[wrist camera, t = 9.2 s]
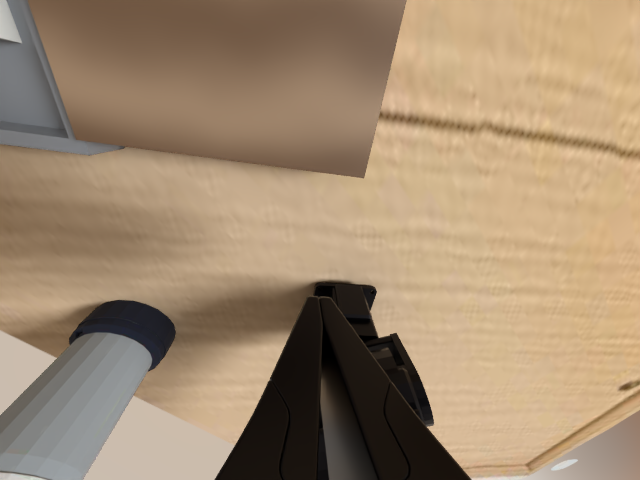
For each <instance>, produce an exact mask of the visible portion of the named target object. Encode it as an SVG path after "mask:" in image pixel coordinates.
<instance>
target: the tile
mask: <svg viewBox="0 0 640 480" xmlns="http://www.w3.org/2000/svg"><path fill="white" fill-rule="evenodd" d="M0 39H2V40H7V41H12V42H18V43H22V41H21V38H20V36H19V33H18V30H17V28H16V25H15V22H14V19H13V17H12V14H11V11H10V9H9V6H8V3H7V1H6V0H0Z"/></svg>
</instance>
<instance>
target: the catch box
mask: <svg viewBox="0 0 640 480" xmlns="http://www.w3.org/2000/svg"><path fill="white" fill-rule="evenodd" d="M6 1H7V3H8V6H9V9H10V11H11V14H12V17H13V19H14V22H15V25H16V28H17V30H18V33H19V36H20V38H21V41H22V43H18V42H12V41H7V40H2V39H0V144H4V145H12V146H20V147H28V148H36V149H44V150H52V151H60V152H68V153H76V154H84V155H93V154H98V153H103V152H108V151H113V150H118V149H123V148H124V146H118V145H111V144H103V143H96V142H88V141H81V140H76V138H75V135H74V132H73V129H72V126H71V124H70V121H69V118H68V115H67V112H66V109H65V106H64V104H63V101H62V98H61V95H60V92H59V89H58V86H57V83H56V81H55V78H54V75H53V72H52V69H51V66H50V63H49V61H48V58H47V55H46V52H45V49H44V46H43V43H42V40H41V38H40V35H39V32H38V29H37V26H36V23H35V20H34V17H33V15H32V12H31V9H30V6H29V3H28V0H6Z"/></svg>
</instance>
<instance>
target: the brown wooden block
mask: <svg viewBox="0 0 640 480" xmlns="http://www.w3.org/2000/svg"><path fill="white" fill-rule="evenodd" d="M28 3H29V6H30V9H31V12H32V15H33V17H34V20H35V23H36V26H37V29H38V32H39V35H40V38H41V40H42V43H43V46H44V49H45V52H46V55H47V58H48V61H49V63H50V66H51V69H52V72H53V75H54V78H55V81H56V83H57V86H58V89H59V92H60V95H61V98H62V101H63V104H64V106H65V109H66V112H67V115H68V118H69V121H70V124H71V126H72V129H73V132H74V135H75V138H76V140H81V141H88V142H96V143H103V144H111V145H118V146H126V147H133V148H141V149H148V150H156V151H164V152H171V153H179V154H186V155H194V156H201V157H209V158H216V159H224V160H231V161H239V162H246V163H254V164H261V165H269V166H276V167H284V168H291V169H299V170H306V171H314V172H321V173H329V174H336V175H344V176H351V177H359V178H364V176H365V172H366V168H367V164H368V159H369V155H370V151H371V147H372V143H373V138H374V134H375V130H376V126H377V122H378V118H379V113H380V109H381V105H382V101H383V97H384V92H385V88H386V84H387V80H388V76H389V71H390V67H391V63H392V59H393V55H394V51H395V46H396V42H397V38H398V34H399V30H400V25H401V21H402V17H403V13H404V9H405V4H406V0H28Z"/></svg>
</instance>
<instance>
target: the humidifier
mask: <svg viewBox="0 0 640 480" xmlns="http://www.w3.org/2000/svg"><path fill="white" fill-rule="evenodd" d="M175 334H176V331H175V327H174V324H173V323H172V322H171V320H170V319H169V318H168V317H167V316H166V315H164V314H163V313H162V312H160V311H159V310H158V309H155V308H153V307H151V306H149V305H147V304H143V303H139V302H135V301H125V300H117V301H111V302H106V303H104V304H102V305H101V306H99V307H97V308H96V309H95V310H94V311H93V312H92V313H91V314H90V315H89V316H88V317H87V318H86V319H84V320H83V321H82V322H81V323H80V324H79V326H78V327H77V329H76V330H75V331H74V332H73V334H72V335H71V337H70V338H69V344H70V346H69V347H68V348H67V349H66V350H65V351H64V352H63V353H62V354H61V355H60V356H59V357H58V358H57V359H56V360H55V361H54V362H53V363H52V364H51V365H50V366H49V367H48V368H47V369H46V370H45V371H44V372H43V373H42V374H41V375H40V376H39V377H38V378H37V379H36V380H35V381H34V382H33V383H32V384H31V385H30V386H29V387H28V388H27V389H26V390H25V391H24V392H23V393H22V394H21V395H20V396H19V397H18V398H17V399H16V400H15V401H14V402H13V403H12V404H11V405H10V406H9V407H8V408H7V409H6V410H5V411H4V412H3V413H2V414H1V415H0V480H83V479H84V477H85V475H86V474H87V472H88V470H89V469H90V467H91V465H92V464H93V462H94V460H95V459H96V457H97V455H98V454H99V452H100V450H101V449H102V447H103V445H104V443H105V442H106V440H107V439H108V437H109V435H110V434H111V432H112V430H113V428H114V427H115V425H116V423H117V422H118V420H119V418H120V417H121V415H122V413H123V411H124V410H125V408H126V406H127V405H128V403H129V402H130V400H131V398H132V397H133V395H134V393H135V392H136V390H137V388H138V387H139V385H140V383H141V382H142V380H143V378H144V377H145V375H146V373H147V372H148V371H150V370H152V369H154V368H155V367H156V366H157V365H158V364H159V363H160V361H161V360H162V359H163V358H164V357H165V355H166V353H167V351H168V349H169V348H170V346H171V344H172V342H173V341H174V338H175Z"/></svg>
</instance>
